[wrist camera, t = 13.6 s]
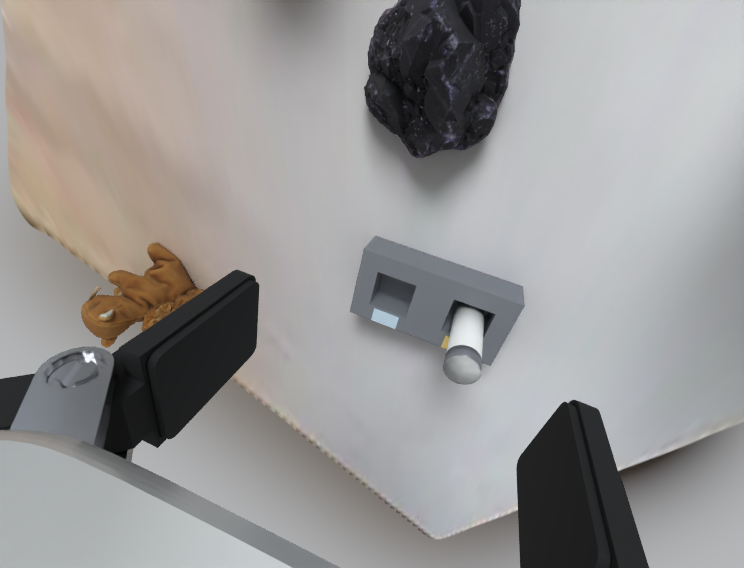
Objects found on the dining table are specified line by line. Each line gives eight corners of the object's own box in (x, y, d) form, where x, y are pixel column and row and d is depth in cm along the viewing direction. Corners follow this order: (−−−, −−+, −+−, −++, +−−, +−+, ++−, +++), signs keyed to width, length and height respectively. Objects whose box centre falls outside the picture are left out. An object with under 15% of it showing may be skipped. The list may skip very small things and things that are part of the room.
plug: (489, 300, 39) (487, 364, 30) (478, 322, 40) (473, 389, 31) (461, 290, 39) (450, 350, 30) (451, 312, 41) (438, 375, 32)
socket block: (522, 286, 37) (524, 306, 34) (491, 344, 42) (490, 367, 38) (375, 235, 40) (363, 249, 37) (361, 295, 45) (349, 312, 41)
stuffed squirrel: (152, 236, 52) (58, 275, 41) (230, 292, 52) (157, 346, 41) (142, 281, 57) (57, 326, 46) (213, 332, 58) (145, 388, 47)
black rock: (396, 169, 37) (378, 199, 28) (341, 23, 31) (298, 8, 23) (531, 116, 32) (557, 134, 23) (495, -69, 26) (513, -131, 18)
